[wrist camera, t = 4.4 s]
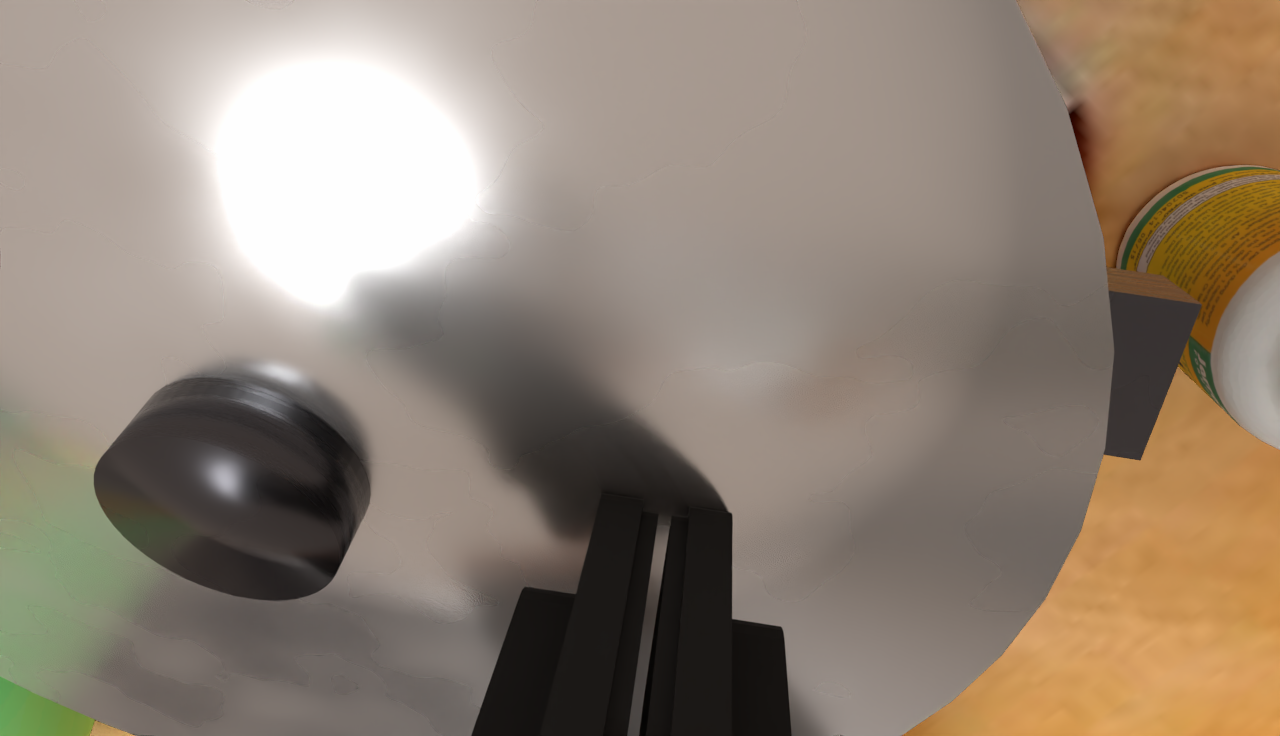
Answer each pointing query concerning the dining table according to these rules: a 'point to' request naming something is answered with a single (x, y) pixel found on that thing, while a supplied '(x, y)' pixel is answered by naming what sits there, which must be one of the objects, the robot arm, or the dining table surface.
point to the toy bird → (37, 715)
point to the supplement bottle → (1222, 283)
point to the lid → (529, 342)
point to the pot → (1143, 353)
